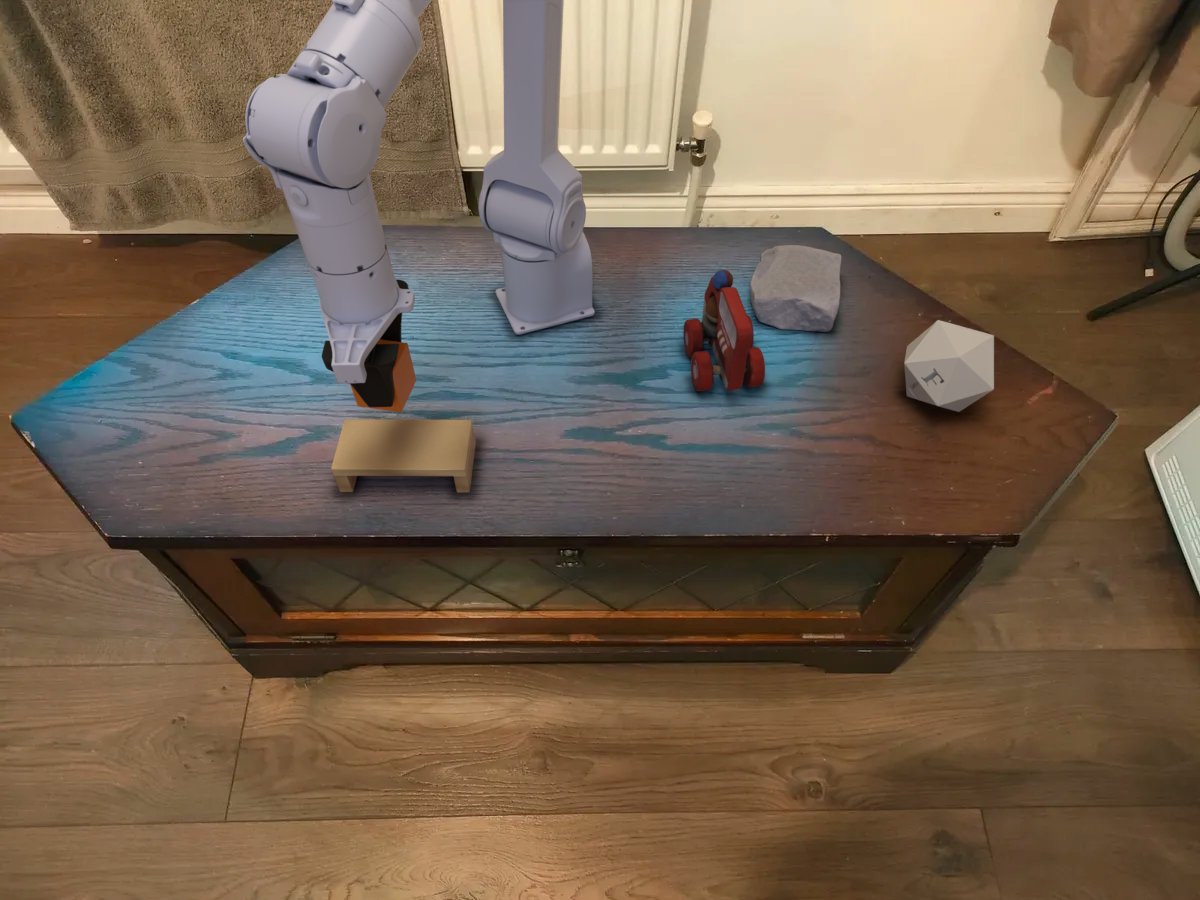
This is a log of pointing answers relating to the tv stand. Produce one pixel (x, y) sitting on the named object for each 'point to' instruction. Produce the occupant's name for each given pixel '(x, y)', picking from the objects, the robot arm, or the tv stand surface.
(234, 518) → the tv stand surface
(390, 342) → the orange cube
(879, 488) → the tv stand surface
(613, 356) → the tv stand surface
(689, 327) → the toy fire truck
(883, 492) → the tv stand surface
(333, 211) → the robot arm
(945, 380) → the die
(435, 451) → the shelf
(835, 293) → the stone block
